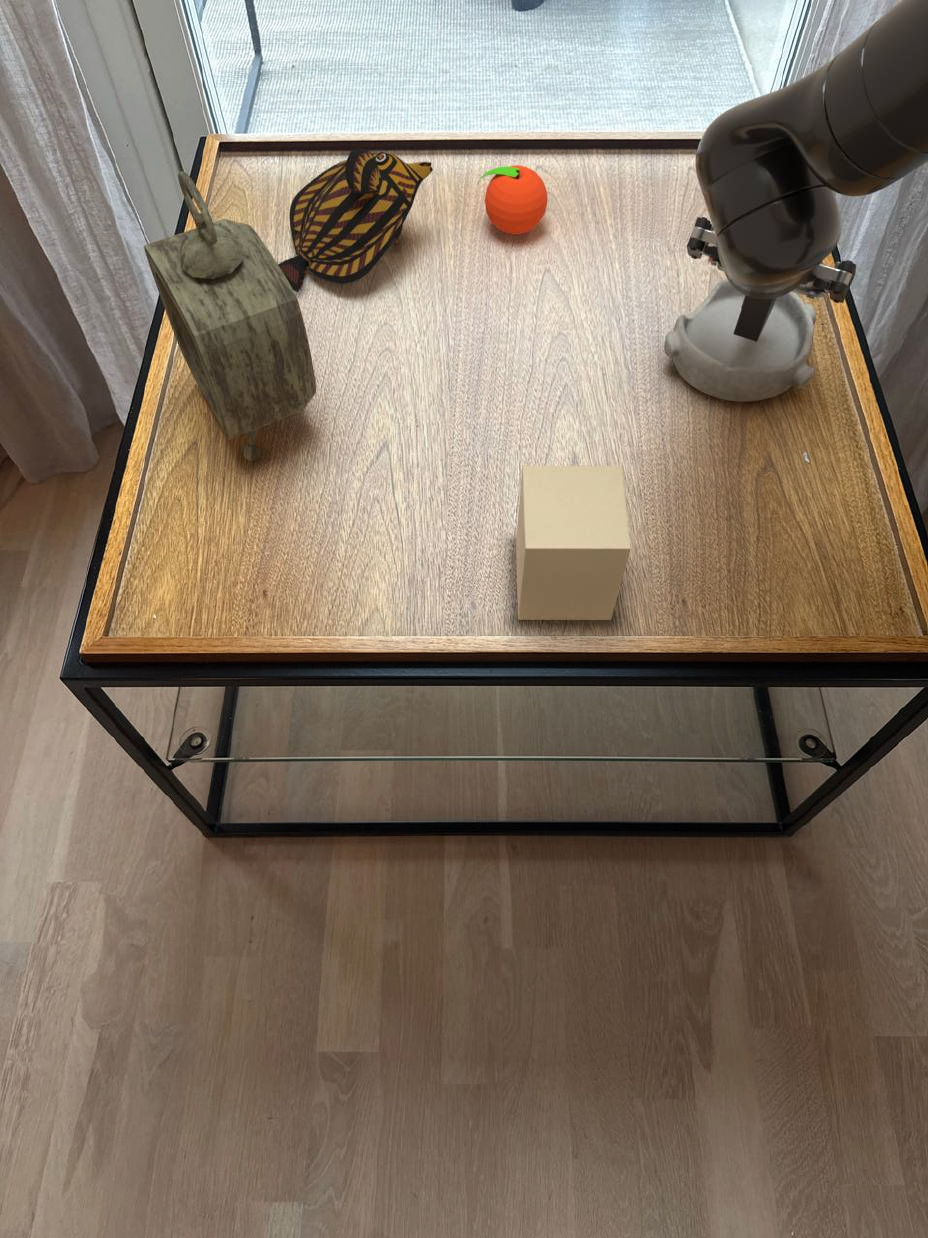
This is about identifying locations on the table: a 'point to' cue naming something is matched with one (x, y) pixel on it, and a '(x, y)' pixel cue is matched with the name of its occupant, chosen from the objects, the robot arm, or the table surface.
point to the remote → (753, 317)
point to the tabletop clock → (234, 321)
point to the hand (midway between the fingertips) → (770, 272)
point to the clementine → (515, 199)
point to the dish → (743, 347)
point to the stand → (571, 542)
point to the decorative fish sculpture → (351, 216)
